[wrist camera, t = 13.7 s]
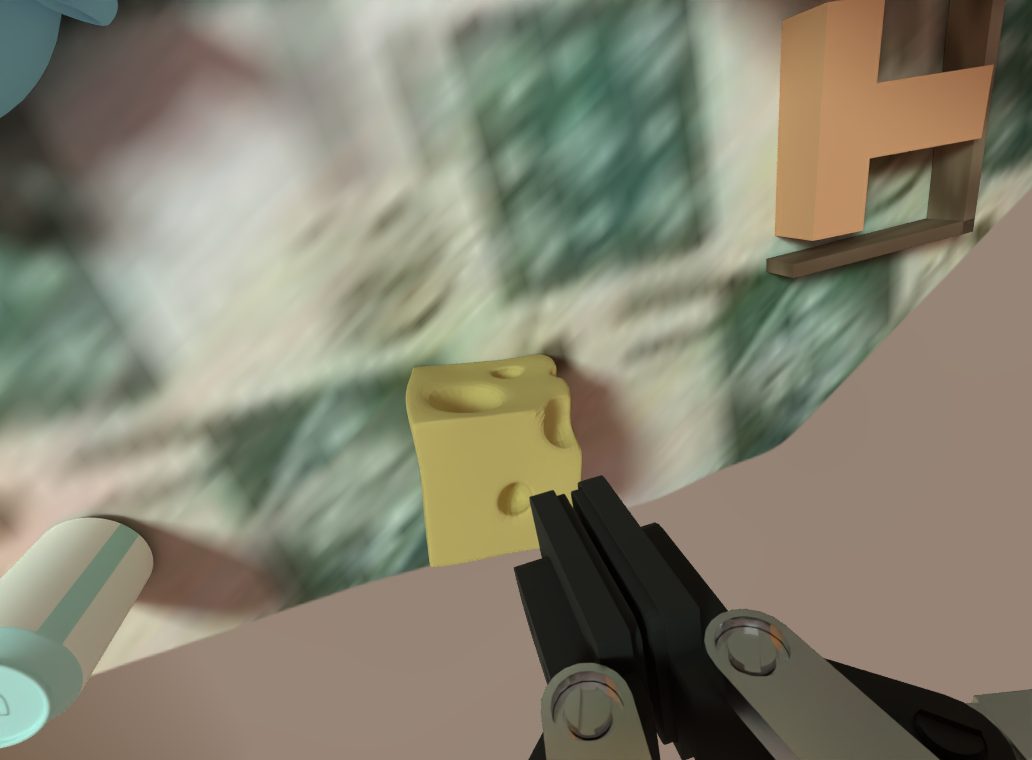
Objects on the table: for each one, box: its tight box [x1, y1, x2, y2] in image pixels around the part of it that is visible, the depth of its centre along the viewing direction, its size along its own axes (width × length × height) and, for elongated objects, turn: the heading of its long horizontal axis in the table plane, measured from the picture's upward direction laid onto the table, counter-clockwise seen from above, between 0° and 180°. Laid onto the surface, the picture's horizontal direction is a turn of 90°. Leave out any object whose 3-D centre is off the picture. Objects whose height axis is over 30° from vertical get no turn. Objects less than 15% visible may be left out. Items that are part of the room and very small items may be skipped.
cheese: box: [406, 354, 582, 567], centre depth 36 cm, size 10×11×10 cm
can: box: [0, 518, 153, 748], centre depth 32 cm, size 7×7×12 cm
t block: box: [775, 0, 994, 241], centre depth 37 cm, size 14×13×4 cm
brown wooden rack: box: [767, 0, 1005, 278], centre depth 37 cm, size 20×16×3 cm
